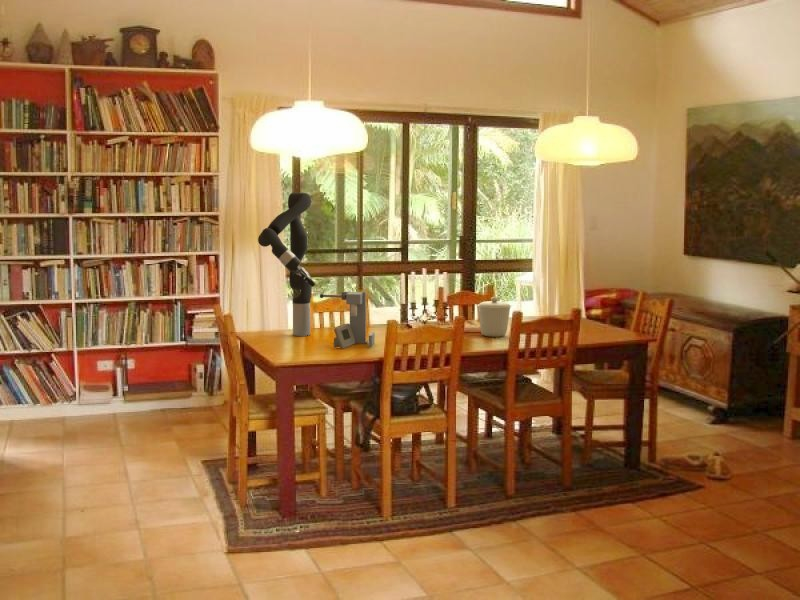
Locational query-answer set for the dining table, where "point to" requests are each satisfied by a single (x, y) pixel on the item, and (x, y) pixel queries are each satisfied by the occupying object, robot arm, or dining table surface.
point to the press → (358, 316)
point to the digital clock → (343, 336)
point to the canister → (494, 317)
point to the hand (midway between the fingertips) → (314, 285)
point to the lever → (333, 296)
